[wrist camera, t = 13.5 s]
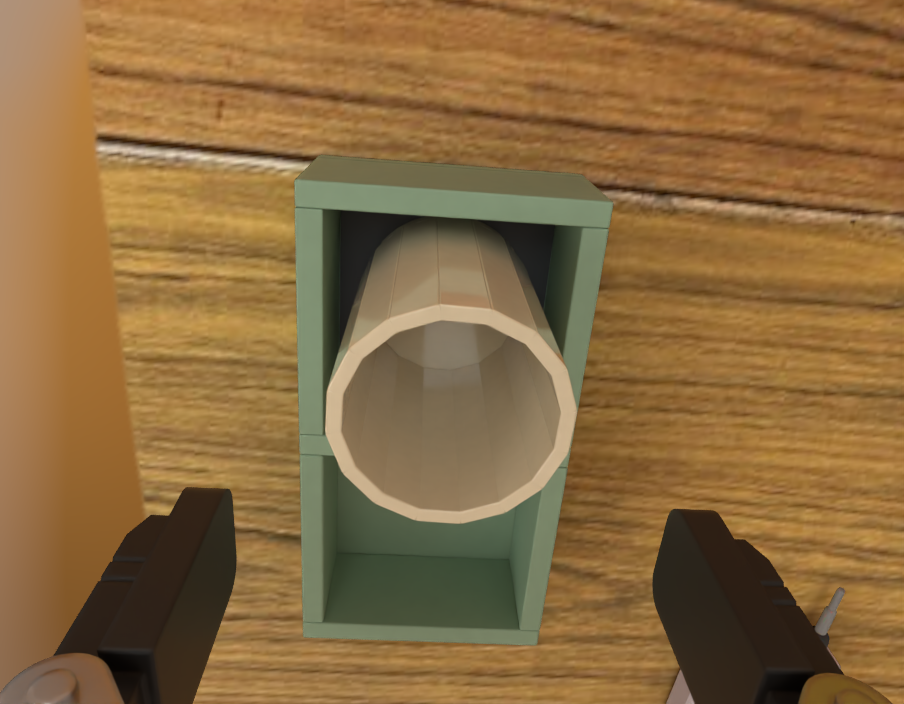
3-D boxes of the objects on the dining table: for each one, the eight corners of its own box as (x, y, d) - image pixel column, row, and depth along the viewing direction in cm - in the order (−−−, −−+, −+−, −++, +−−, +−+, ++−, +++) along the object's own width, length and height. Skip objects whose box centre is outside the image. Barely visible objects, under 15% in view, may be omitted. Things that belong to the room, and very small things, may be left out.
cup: (333, 327, 25) (285, 466, 17) (409, 182, 23) (396, 259, 15) (475, 396, 26) (495, 555, 18) (559, 264, 24) (624, 377, 16)
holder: (318, 154, 23) (294, 178, 19) (582, 174, 24) (614, 201, 20) (320, 555, 30) (302, 638, 26) (523, 564, 31) (537, 646, 27)
